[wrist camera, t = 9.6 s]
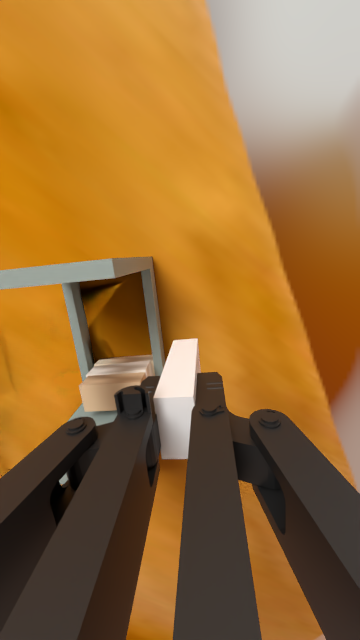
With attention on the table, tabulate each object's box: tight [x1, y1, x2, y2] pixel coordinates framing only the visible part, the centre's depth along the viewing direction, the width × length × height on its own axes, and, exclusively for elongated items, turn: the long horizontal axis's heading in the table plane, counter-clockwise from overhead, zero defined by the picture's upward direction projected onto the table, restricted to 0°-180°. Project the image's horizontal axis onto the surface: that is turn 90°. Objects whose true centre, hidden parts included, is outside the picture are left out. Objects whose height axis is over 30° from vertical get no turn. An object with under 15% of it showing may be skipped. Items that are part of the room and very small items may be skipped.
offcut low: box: [94, 355, 155, 376], centre depth 31 cm, size 7×3×2 cm, turn 96°
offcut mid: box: [86, 360, 153, 378], centre depth 29 cm, size 7×3×2 cm, turn 98°
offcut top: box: [79, 372, 146, 412], centre depth 27 cm, size 6×3×2 cm, turn 97°
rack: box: [0, 257, 165, 484], centre depth 25 cm, size 10×17×13 cm, turn 6°
